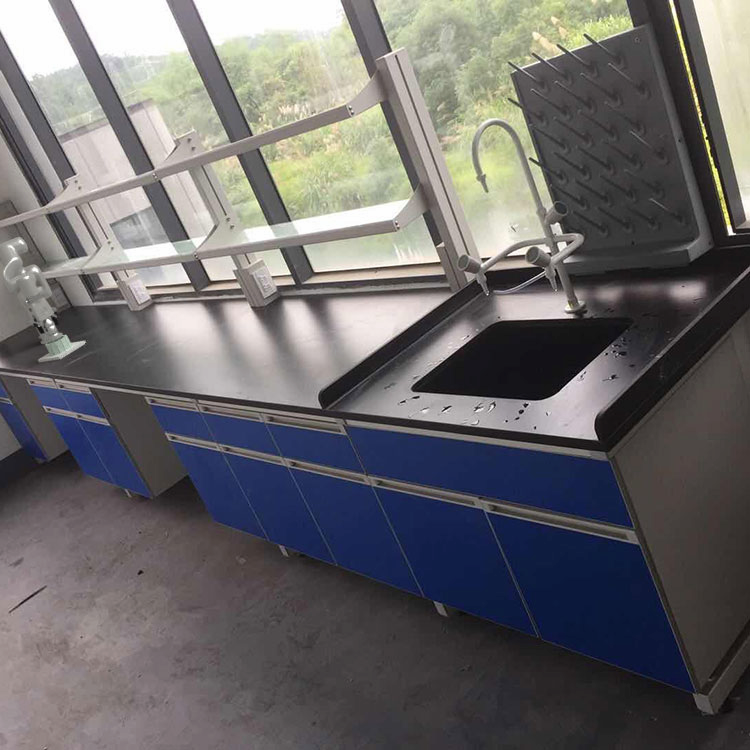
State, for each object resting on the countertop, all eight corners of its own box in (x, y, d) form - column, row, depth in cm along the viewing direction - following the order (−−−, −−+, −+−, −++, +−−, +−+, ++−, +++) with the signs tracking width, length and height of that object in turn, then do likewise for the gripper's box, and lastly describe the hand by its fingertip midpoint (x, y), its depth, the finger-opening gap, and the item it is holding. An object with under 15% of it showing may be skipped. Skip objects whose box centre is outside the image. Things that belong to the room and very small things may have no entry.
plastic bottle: (54, 354, 412) (36, 319, 405) (56, 350, 418) (37, 316, 411) (66, 349, 412) (48, 314, 405) (68, 345, 419) (50, 311, 412)
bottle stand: (39, 362, 414) (32, 349, 411) (65, 346, 427) (58, 334, 425) (60, 359, 404) (52, 346, 401) (86, 343, 417) (79, 330, 415)
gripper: (24, 305, 396) (41, 336, 402) (51, 291, 409) (67, 321, 415) (16, 307, 400) (32, 337, 407) (42, 292, 413) (58, 322, 419)
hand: (50, 329), depth 411 cm, fingers open, 9 cm apart
